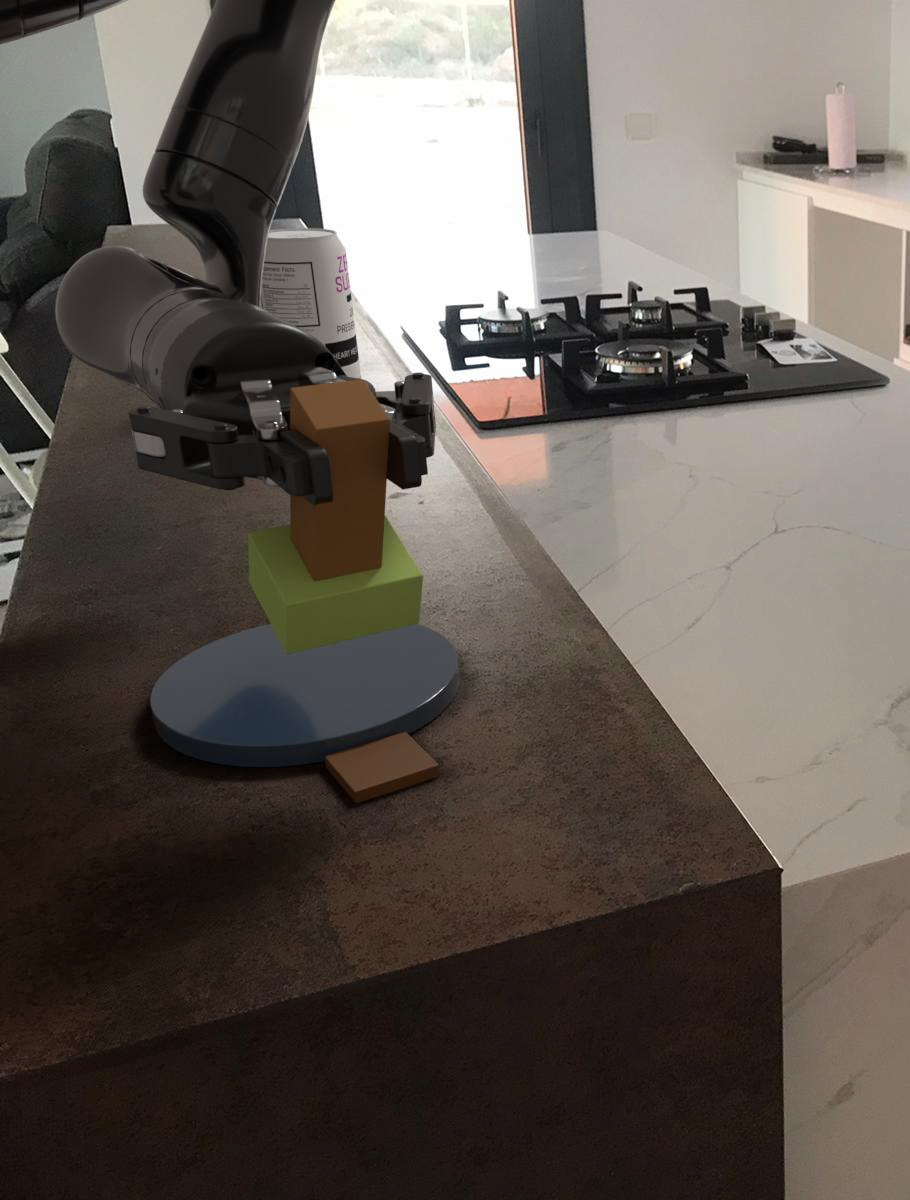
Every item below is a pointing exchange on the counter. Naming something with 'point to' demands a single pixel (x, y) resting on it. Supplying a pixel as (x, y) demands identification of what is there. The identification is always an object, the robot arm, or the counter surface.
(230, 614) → the counter surface
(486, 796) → the counter surface
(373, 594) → the sponge brush
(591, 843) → the counter surface
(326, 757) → the food crust
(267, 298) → the supplement can
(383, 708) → the plate
